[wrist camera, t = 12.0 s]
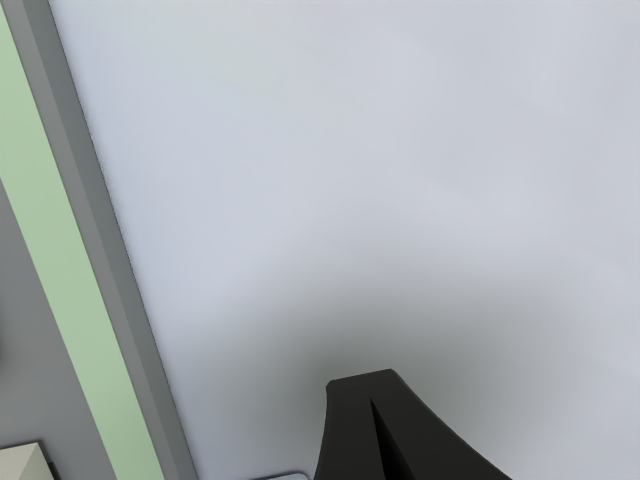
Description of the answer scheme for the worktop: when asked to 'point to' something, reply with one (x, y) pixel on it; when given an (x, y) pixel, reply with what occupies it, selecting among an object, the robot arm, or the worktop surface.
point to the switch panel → (70, 284)
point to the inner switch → (24, 463)
